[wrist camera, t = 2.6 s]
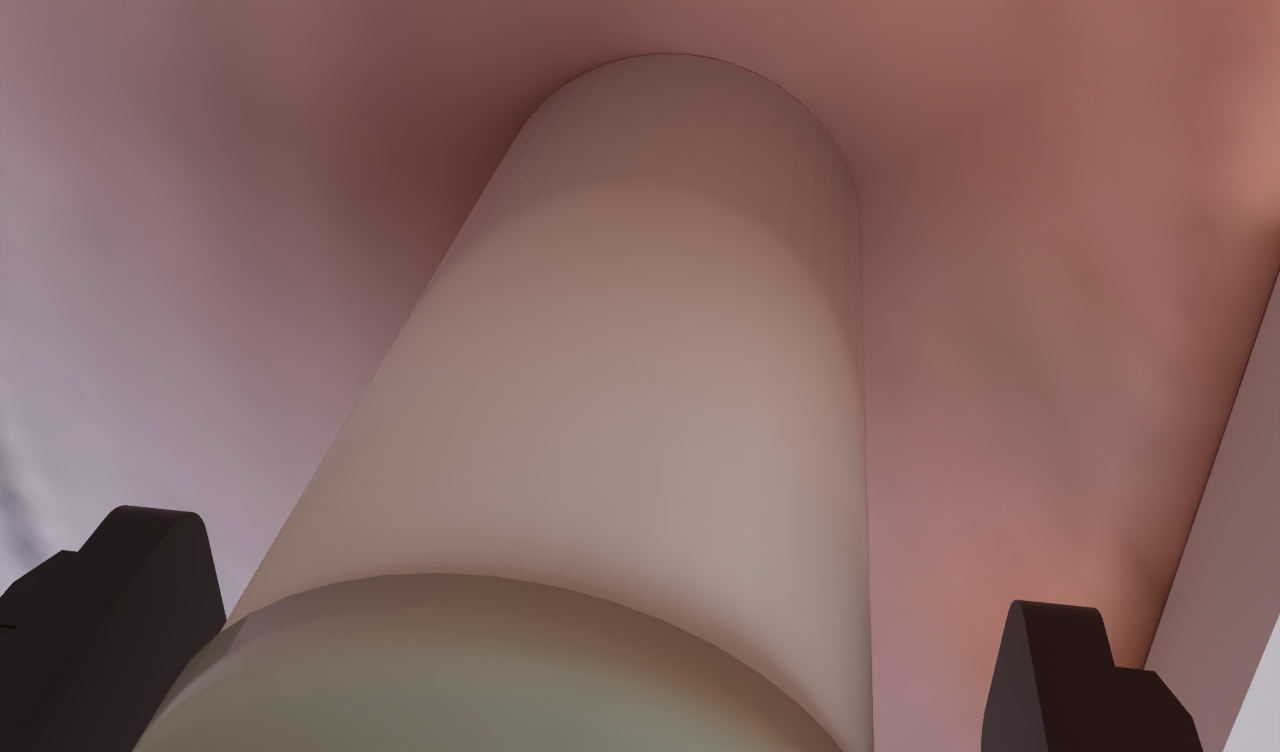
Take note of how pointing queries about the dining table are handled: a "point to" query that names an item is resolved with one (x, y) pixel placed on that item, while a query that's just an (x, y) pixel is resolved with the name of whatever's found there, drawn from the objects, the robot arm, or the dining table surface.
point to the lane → (1233, 574)
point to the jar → (590, 462)
